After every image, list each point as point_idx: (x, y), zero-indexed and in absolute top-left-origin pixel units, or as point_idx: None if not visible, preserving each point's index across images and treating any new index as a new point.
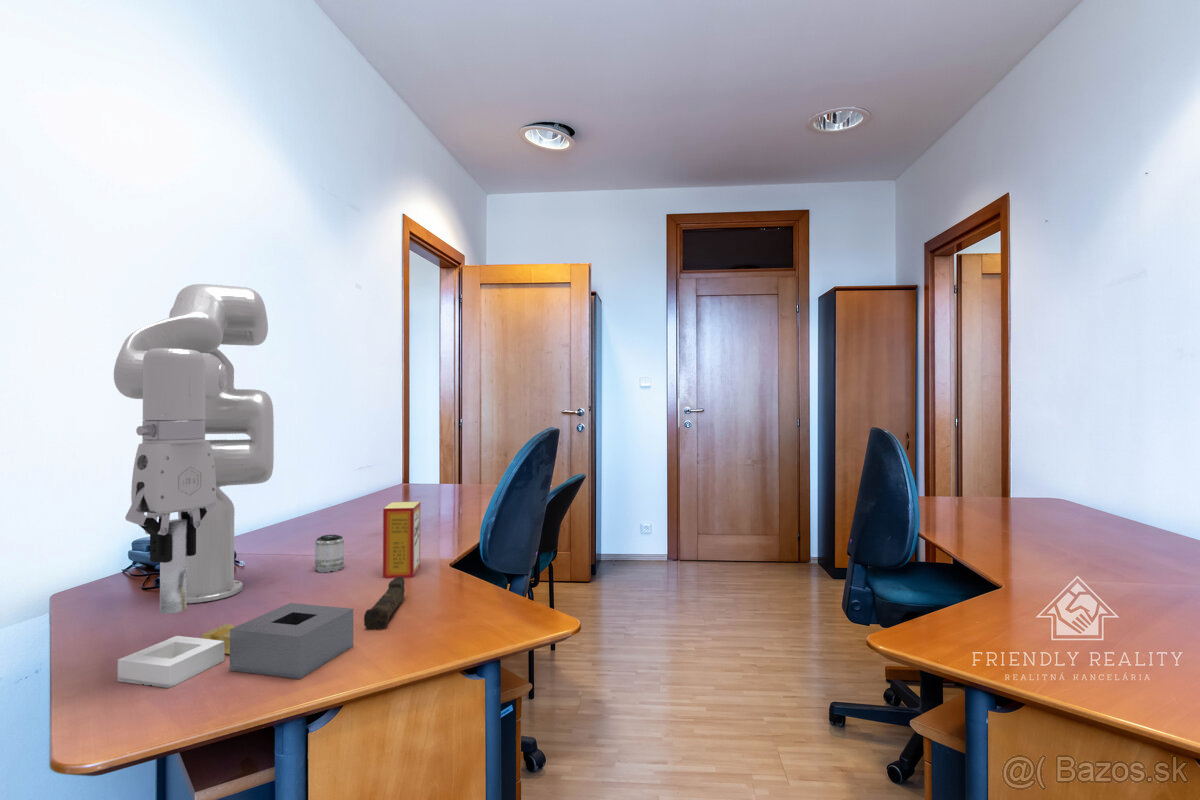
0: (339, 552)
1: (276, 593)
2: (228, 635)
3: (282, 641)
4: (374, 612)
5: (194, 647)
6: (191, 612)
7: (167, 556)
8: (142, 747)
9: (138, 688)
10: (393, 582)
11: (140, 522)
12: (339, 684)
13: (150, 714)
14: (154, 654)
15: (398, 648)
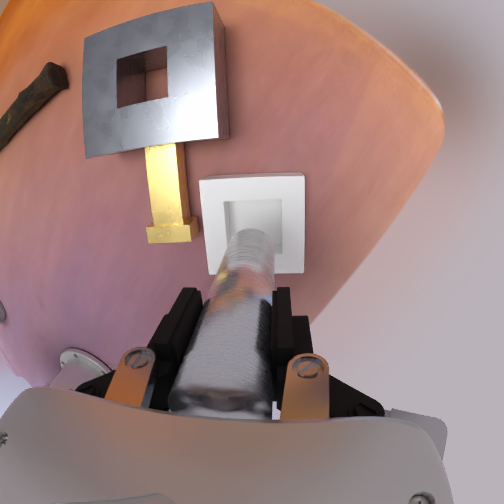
0: None
1: (46, 309)
2: (174, 202)
3: (215, 32)
4: (52, 73)
5: (225, 215)
6: (122, 354)
7: (289, 297)
8: (410, 80)
9: (311, 213)
10: None
11: (407, 414)
12: None
13: (361, 131)
14: None
15: (112, 2)
